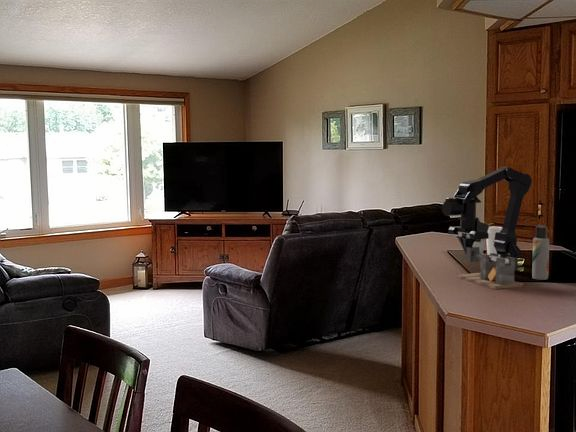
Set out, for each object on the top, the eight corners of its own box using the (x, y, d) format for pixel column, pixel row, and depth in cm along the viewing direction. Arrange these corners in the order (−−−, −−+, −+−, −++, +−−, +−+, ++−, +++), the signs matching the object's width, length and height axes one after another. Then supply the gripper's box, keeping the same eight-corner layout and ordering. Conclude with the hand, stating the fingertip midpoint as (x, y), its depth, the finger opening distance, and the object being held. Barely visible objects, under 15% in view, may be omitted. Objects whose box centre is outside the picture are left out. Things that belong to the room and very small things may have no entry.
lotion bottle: (547, 277, 246) (549, 225, 244) (548, 280, 241) (550, 226, 239) (531, 276, 248) (533, 224, 246) (532, 279, 243) (533, 226, 241)
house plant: (491, 251, 309) (492, 217, 307) (498, 256, 295) (499, 220, 294) (461, 251, 310) (461, 217, 309) (466, 256, 297) (466, 220, 295)
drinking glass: (502, 263, 278) (503, 228, 276) (486, 262, 279) (486, 228, 278) (501, 260, 284) (501, 226, 283) (484, 260, 286) (485, 226, 284)
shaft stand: (457, 277, 249) (457, 250, 248) (483, 274, 253) (484, 248, 252) (495, 289, 227) (495, 260, 226) (523, 286, 231) (524, 257, 230)
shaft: (466, 261, 250) (466, 246, 249) (475, 260, 251) (475, 246, 250) (502, 270, 229) (503, 255, 229) (512, 269, 230) (512, 254, 230)
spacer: (487, 276, 237) (493, 267, 233) (498, 275, 239) (504, 266, 235) (490, 281, 235) (496, 272, 232) (502, 280, 237) (508, 271, 233)
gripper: (501, 216, 244) (500, 257, 246) (471, 211, 262) (471, 250, 263) (475, 217, 241) (475, 259, 242) (447, 212, 258) (447, 251, 260)
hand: (467, 254), depth 252 cm, fingers closed
